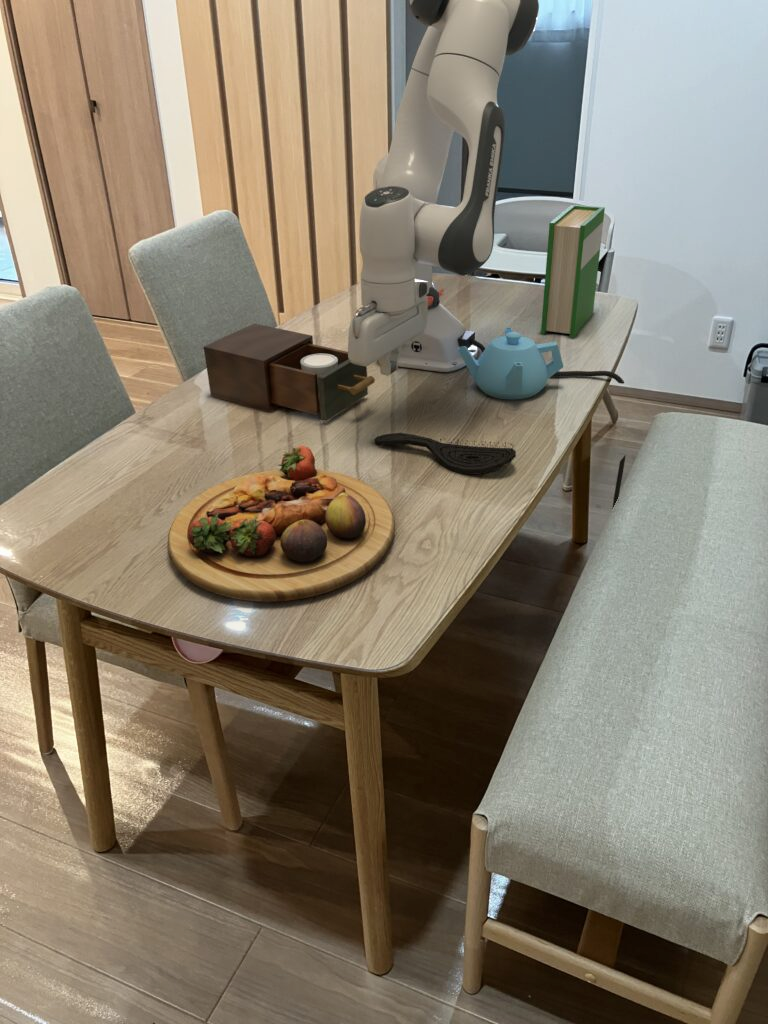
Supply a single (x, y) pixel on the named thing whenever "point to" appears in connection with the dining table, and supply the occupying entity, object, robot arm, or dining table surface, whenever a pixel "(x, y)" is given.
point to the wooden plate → (281, 532)
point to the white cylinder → (319, 364)
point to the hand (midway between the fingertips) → (389, 372)
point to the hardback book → (572, 269)
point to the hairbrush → (455, 453)
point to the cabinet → (248, 363)
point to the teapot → (512, 366)
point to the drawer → (302, 386)
